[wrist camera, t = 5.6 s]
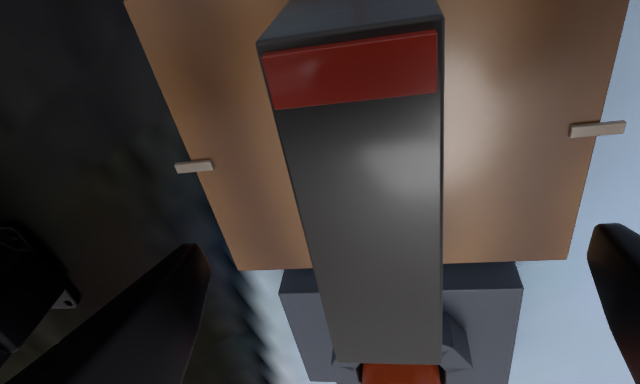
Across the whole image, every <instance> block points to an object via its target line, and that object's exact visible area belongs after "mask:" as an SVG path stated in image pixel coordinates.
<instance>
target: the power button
mask: <svg viewBox="0 0 640 384" xmlns="http://www.w3.org/2000/svg"><path fill="white" fill-rule="evenodd" d="M362 384H441V382H440V374H439V368H438V365H423V364H374V363H364V364H363V374H362Z"/></svg>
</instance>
